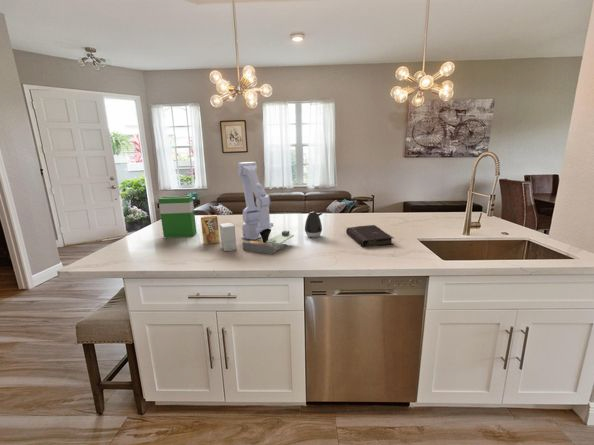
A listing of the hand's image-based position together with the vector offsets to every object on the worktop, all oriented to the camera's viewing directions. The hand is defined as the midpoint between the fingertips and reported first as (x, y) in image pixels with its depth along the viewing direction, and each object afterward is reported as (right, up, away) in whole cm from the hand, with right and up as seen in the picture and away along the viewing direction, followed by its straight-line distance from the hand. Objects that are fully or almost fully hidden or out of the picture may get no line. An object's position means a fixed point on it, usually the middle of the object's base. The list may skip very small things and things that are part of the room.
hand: (265, 242), depth 159 cm
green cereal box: (-55, +3, +22) cm, 59 cm away
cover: (+8, +2, -5) cm, 10 cm away
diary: (+58, +1, +6) cm, 59 cm away
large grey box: (0, -2, -4) cm, 4 cm away
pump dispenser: (+27, +3, +13) cm, 30 cm away
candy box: (-31, -1, +7) cm, 32 cm away
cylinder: (-3, -1, -6) cm, 7 cm away
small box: (-19, -3, -4) cm, 20 cm away
